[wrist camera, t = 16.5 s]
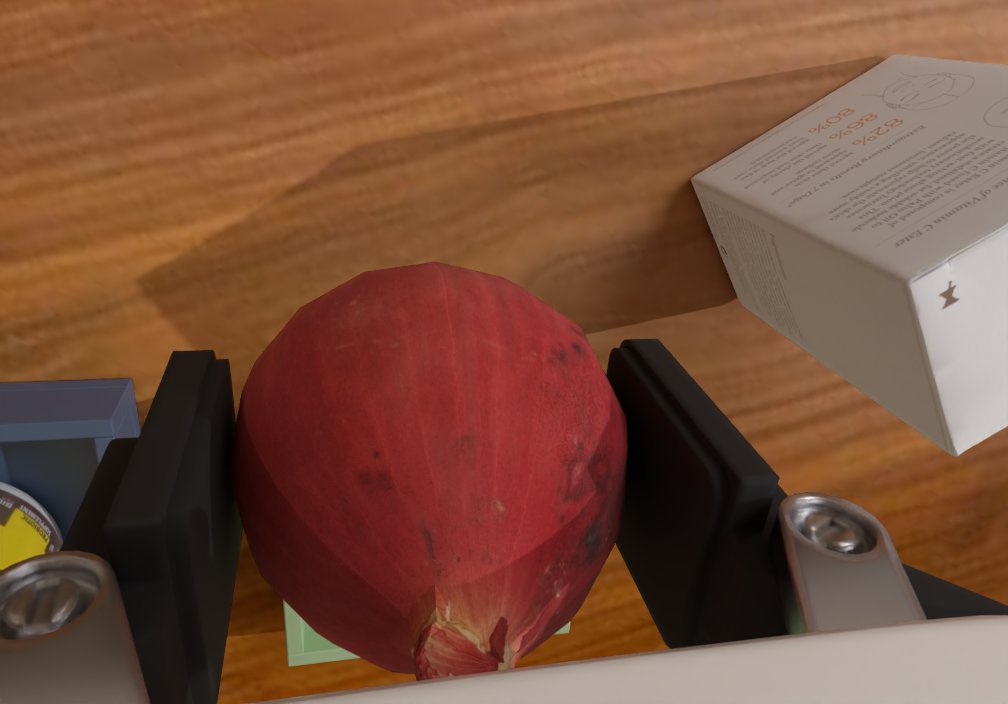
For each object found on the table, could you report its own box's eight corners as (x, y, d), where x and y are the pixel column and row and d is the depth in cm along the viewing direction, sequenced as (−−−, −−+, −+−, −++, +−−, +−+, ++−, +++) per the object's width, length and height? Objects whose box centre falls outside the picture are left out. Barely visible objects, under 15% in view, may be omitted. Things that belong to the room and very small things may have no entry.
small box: (735, 305, 27) (948, 468, 18) (683, 174, 24) (902, 287, 15) (928, 192, 27) (1245, 299, 18) (896, 47, 24) (1252, 84, 15)
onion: (551, 186, 14) (783, 419, 7) (556, 442, 16) (724, 794, 9) (223, 222, 13) (98, 537, 6) (287, 486, 15) (254, 915, 8)
